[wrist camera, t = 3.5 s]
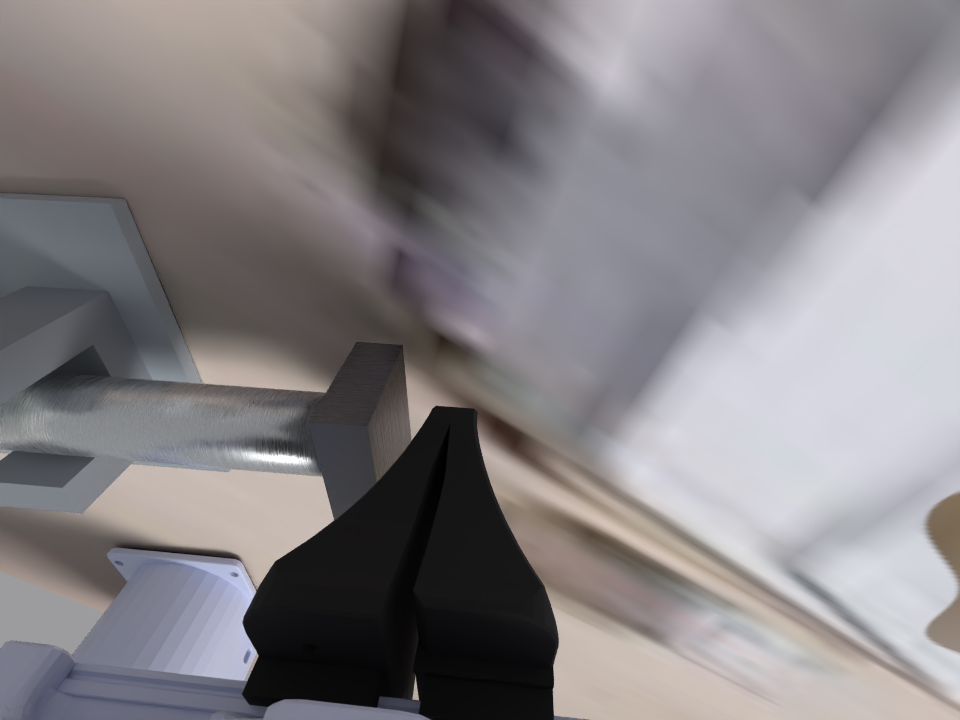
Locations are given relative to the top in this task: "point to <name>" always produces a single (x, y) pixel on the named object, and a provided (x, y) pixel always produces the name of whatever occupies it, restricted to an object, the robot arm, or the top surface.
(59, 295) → the jig
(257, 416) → the shaft
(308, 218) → the top surface
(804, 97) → the top surface
